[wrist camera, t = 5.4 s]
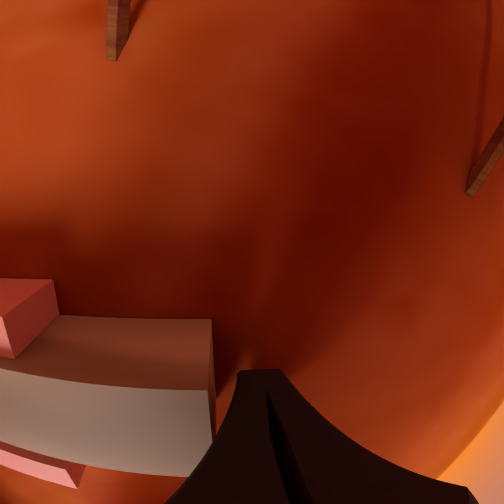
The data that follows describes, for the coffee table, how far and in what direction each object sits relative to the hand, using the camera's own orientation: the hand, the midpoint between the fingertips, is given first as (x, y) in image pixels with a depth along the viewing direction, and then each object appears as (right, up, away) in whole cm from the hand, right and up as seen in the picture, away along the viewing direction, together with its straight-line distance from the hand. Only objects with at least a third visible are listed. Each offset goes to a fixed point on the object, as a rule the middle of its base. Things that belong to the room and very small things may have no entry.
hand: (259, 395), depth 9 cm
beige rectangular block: (-6, +1, 0) cm, 6 cm away
